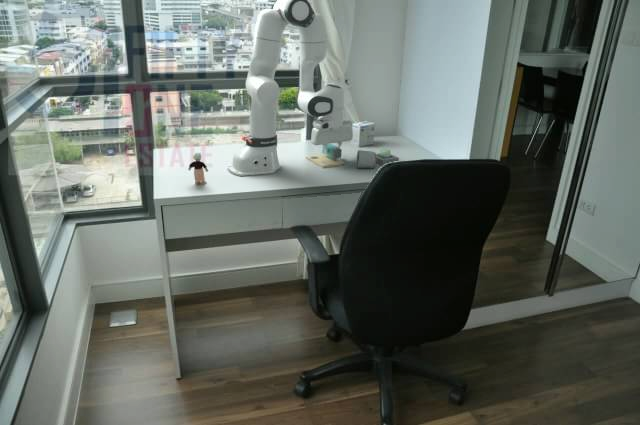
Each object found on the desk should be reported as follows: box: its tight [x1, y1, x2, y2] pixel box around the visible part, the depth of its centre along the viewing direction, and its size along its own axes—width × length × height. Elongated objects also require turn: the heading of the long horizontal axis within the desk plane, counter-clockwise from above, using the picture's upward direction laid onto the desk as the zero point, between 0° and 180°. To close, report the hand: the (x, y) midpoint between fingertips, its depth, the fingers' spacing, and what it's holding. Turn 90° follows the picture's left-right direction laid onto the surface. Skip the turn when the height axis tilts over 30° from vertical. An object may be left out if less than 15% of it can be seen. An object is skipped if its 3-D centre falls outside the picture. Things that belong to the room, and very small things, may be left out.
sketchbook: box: [305, 153, 345, 169], centre depth 228 cm, size 11×15×1 cm
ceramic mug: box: [356, 149, 377, 169], centre depth 222 cm, size 11×8×8 cm
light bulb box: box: [350, 120, 376, 148], centre depth 254 cm, size 11×7×11 cm, turn 130°
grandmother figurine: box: [187, 151, 209, 186], centre depth 196 cm, size 8×4×13 cm, turn 99°
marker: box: [321, 143, 343, 159], centre depth 228 cm, size 10×4×4 cm, turn 31°
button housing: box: [376, 152, 400, 167], centre depth 229 cm, size 9×9×3 cm
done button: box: [379, 148, 392, 159], centre depth 228 cm, size 5×5×4 cm
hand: (331, 152), depth 228 cm, fingers closed on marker, 4 cm apart
